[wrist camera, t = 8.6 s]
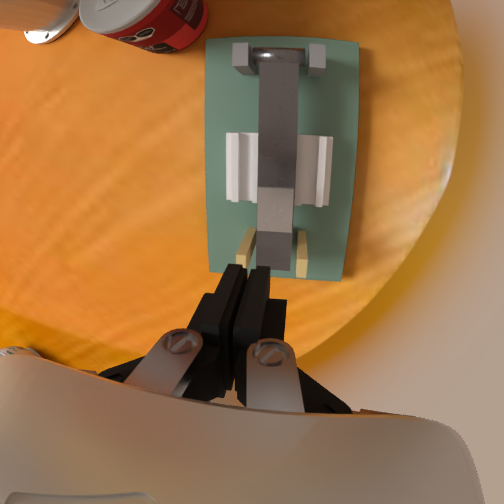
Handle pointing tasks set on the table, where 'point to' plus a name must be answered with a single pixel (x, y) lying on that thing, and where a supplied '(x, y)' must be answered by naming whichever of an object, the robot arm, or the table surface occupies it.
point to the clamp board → (308, 153)
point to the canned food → (147, 22)
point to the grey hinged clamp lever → (276, 152)
